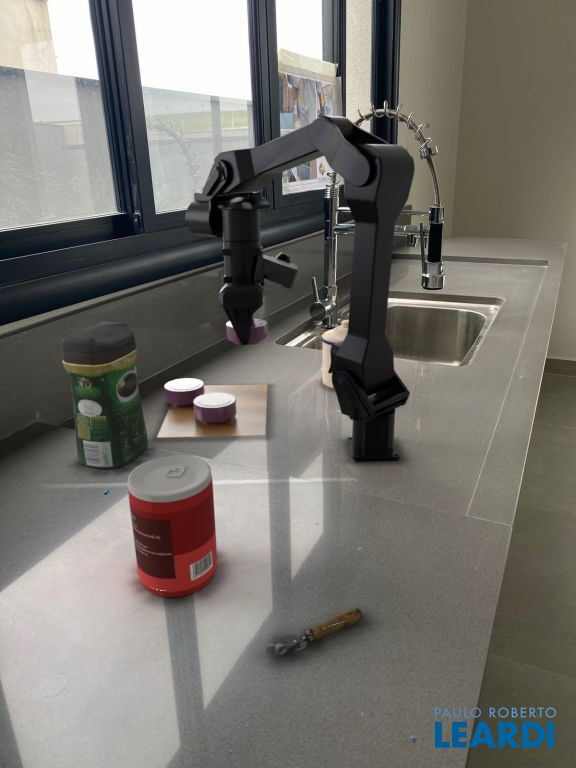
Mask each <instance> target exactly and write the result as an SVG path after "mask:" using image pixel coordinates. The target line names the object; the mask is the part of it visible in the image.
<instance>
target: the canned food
mask: <svg viewBox="0 0 576 768" xmlns="http://www.w3.org/2000/svg"><path fill="white" fill-rule="evenodd" d="M127 491H128V503H129V511H130V518H131V526H132V535H133V536H132V537H133V544H134V551H135V558H136V567H137V575H138V578H139V580H140V583H141V585H142V586H143V587H144V588H145V590H146V591H148V592H149V593H151V594H152V595H154V596H157V597H161V598H162V597H163V598H179V597H185V596H188V595H192V594H194V593H197V591H200V590H202V589H203V588H204V587H206V586H207V585H208V584H209V583H210V582H211V580H212V579H213V578H214V576H215V573H216V571H217V566H218V549H217V533H216V517H215V516H216V515H215V499H214V483H213V475H212V468H211V466H210V465H209V463H207V462H206V461H205V460H204V459H201V458H199V457H195V456H191V455H182V454H180V455H179V454H177V455H166V456H161V457H156V458H153V459H150V460H148V461H145V462H143V463H141V464H140V465H138V466H136V467H135V468H134V469H133V470H132V471H131V472H130V473H129V475H128V478H127ZM150 587H151V588H150ZM153 588H154V589H153ZM156 589H158V590H156ZM160 590H163V591H160ZM164 590H166V591H164Z"/></svg>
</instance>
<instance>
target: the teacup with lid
mask: <svg viewBox="0 0 576 768" xmlns="http://www.w3.org/2000/svg"><path fill="white" fill-rule="evenodd" d="M348 322H349V319H343V320H342V321H341V325H338V326H336V327H333V328H332V329H328V330H326V331H325V332H323V333H322V335H321V337H320V338H321V339H320V340H321V341H322V384H323V385H324V386H326V387H328V388H331V389H335V388H334V387H333V384H332V373H330V374H329V373H328V371H329V368H330V364H331V355H330V350H331V346H332V344H335V343H338V342H341V341H344V339H345V337H346V335H347V332H348Z"/></svg>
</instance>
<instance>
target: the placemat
mask: <svg viewBox="0 0 576 768" xmlns="http://www.w3.org/2000/svg"><path fill="white" fill-rule="evenodd" d="M268 385H269V384H268V383H264V384H263V383H259V384H214V385H211V384H209V385H207V384H204V390H205V394H208V393H227V394H231V395H233V396H234V397H235V398H236V415H235V416H234V417H233V418H231V419H229V420H228V421H226V422H222V423H215V424H211V423H205V422H203V421H200V420H198V419H196V418H195V416H194V405H191V406H175V405H173V404H170V406H169V408H168V410H167V413H166V415H165V418H164V420H163V422H162V424H161V426H160V429H159V431H158V433H157V436H156V438H157V439H169V438H173V439H174V438H175V439H176V438H215V437H216V438H217V437H219V438H220V437H260V436H261V437H263V436H264V437H265V436H266V433H267V415H268V414H267V411H268V391H269V390H268V389H269V387H268Z"/></svg>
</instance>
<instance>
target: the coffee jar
mask: <svg viewBox="0 0 576 768" xmlns="http://www.w3.org/2000/svg"><path fill="white" fill-rule="evenodd" d="M60 348H61V358H62V366H63V367H64V369H65V371H66V373H67V376H68V379H69V383H70V389H71V396H72V408H73V417H74V418H73V419H74V430H75V443H76V444H75V445H76V455H77V460H78V462H79V463H80V464H81V465H83V466H84V467H87V468H90V469H93V470H94V469H95V470H113V469H120V468H123V467H125V466H126V465H129V464H130V463H131V462H133V461H134V460H136V459H137V458H138V457H139V456H140V455H141V454H142V453H143V452H144V451H145V450H146V449H147V447H148V445H149V439H148V432H147V427H146V420H145V417H144V412H143V406H142V399H141V393H140V387H139V380H138V372H137V356H138V355H137V354H138V348H137V343H136V338H135V334H134V331H133V329H132V328H131V327H130V326H129V325H128V324H127V323H125V322H114V321H101V322H100V323H98V324H96V325H93V326H90V327H87V328H85V329H83V330H80V331H77V332H75V333H71V334H69V335H66V336H65V337H64V338H63V339H62V340H61V341H60Z"/></svg>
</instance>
